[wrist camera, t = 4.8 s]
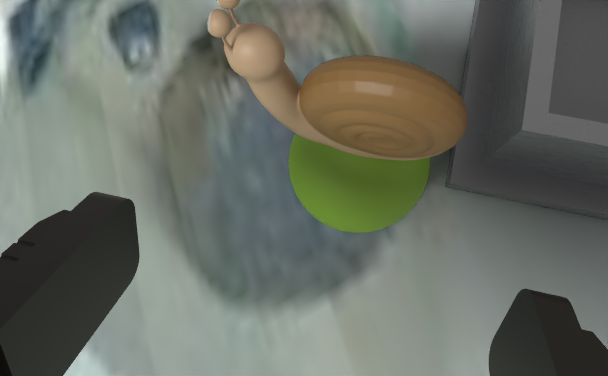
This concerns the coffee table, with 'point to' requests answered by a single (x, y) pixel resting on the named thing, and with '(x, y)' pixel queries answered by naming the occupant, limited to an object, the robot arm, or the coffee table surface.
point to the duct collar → (536, 105)
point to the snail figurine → (349, 124)
